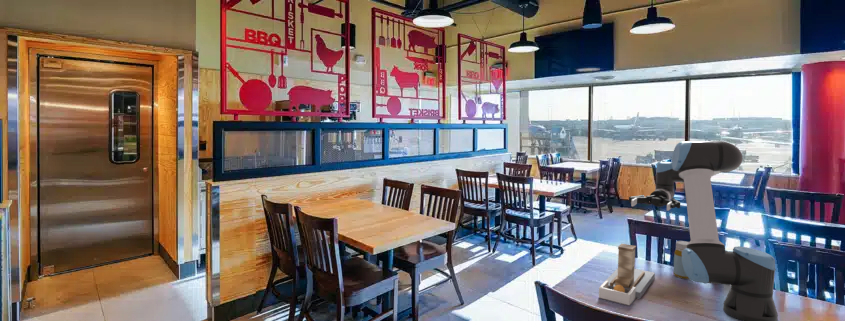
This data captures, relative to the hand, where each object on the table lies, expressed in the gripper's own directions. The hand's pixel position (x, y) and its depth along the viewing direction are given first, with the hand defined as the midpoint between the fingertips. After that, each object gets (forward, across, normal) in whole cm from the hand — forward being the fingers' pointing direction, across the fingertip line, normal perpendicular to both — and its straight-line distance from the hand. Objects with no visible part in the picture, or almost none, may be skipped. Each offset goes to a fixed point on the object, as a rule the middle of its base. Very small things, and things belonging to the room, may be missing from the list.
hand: (649, 205), depth 178 cm
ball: (+27, +4, -28) cm, 39 cm away
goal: (+29, +4, -32) cm, 44 cm away
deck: (+12, +4, -32) cm, 34 cm away
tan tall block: (+19, +4, -29) cm, 35 cm away
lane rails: (+14, +4, -30) cm, 33 cm away
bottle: (-11, -12, -32) cm, 36 cm away
